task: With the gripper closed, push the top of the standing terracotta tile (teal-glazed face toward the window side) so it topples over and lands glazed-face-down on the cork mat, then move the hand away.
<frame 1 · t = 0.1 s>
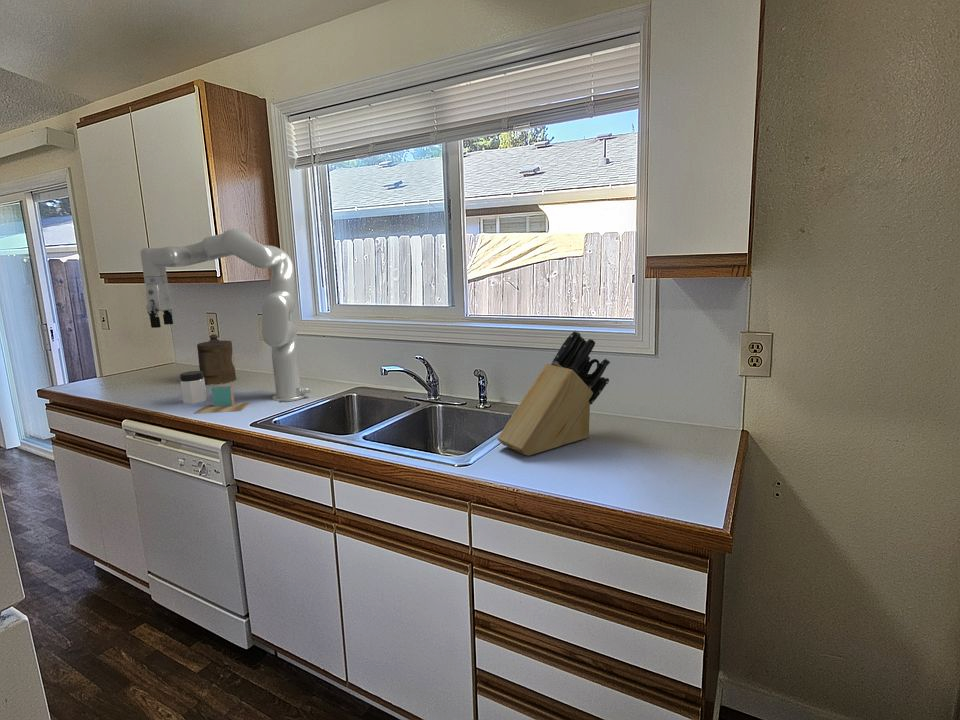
hand: (162, 325, 213), 31 cm above the counter, tool pointing down, fingers open, 9 cm apart
wooden container: (219, 381, 258), on the counter
mat: (223, 409, 208), on the counter
tile: (224, 405, 211), point 1 cm above the counter, touching mat
jar: (195, 402, 220), on the counter
knife block: (556, 440, 161), on the counter
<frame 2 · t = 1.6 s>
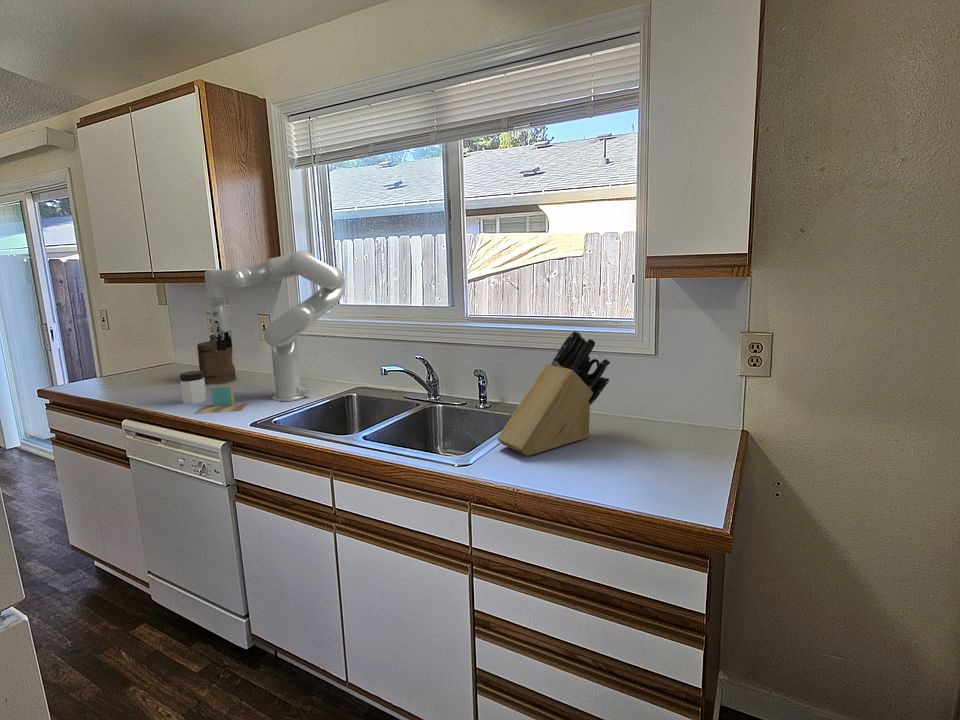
hand: (224, 348, 214), 21 cm above the counter, tool pointing down, fingers open, 5 cm apart
nothing on the counter moved.
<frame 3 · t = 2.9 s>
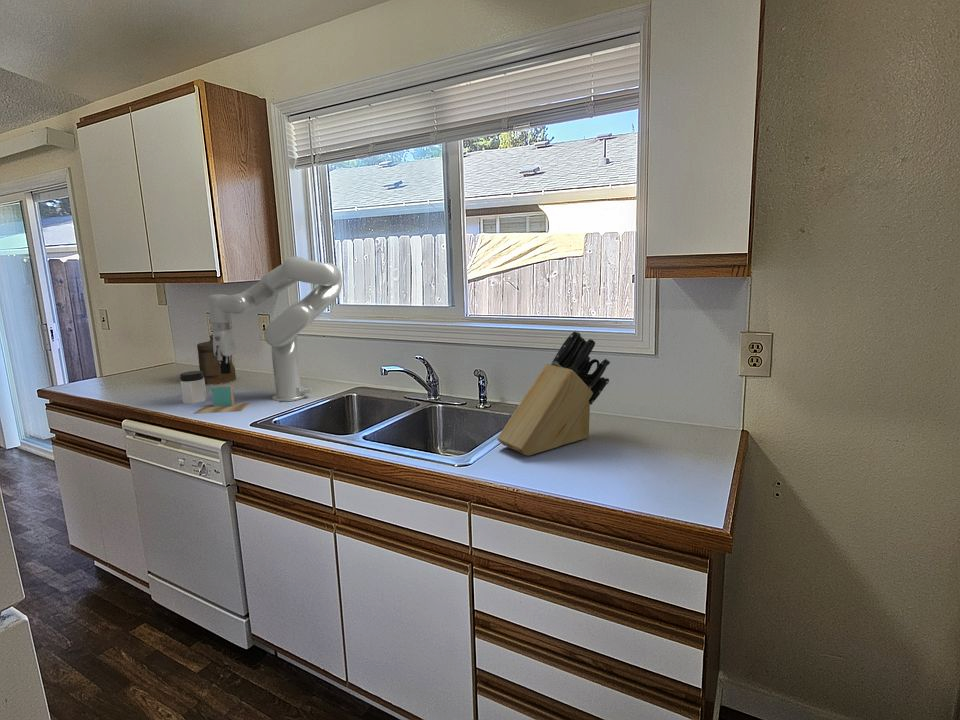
hand: (226, 373, 216), 12 cm above the counter, tool pointing down, fingers closed
nothing on the counter moved.
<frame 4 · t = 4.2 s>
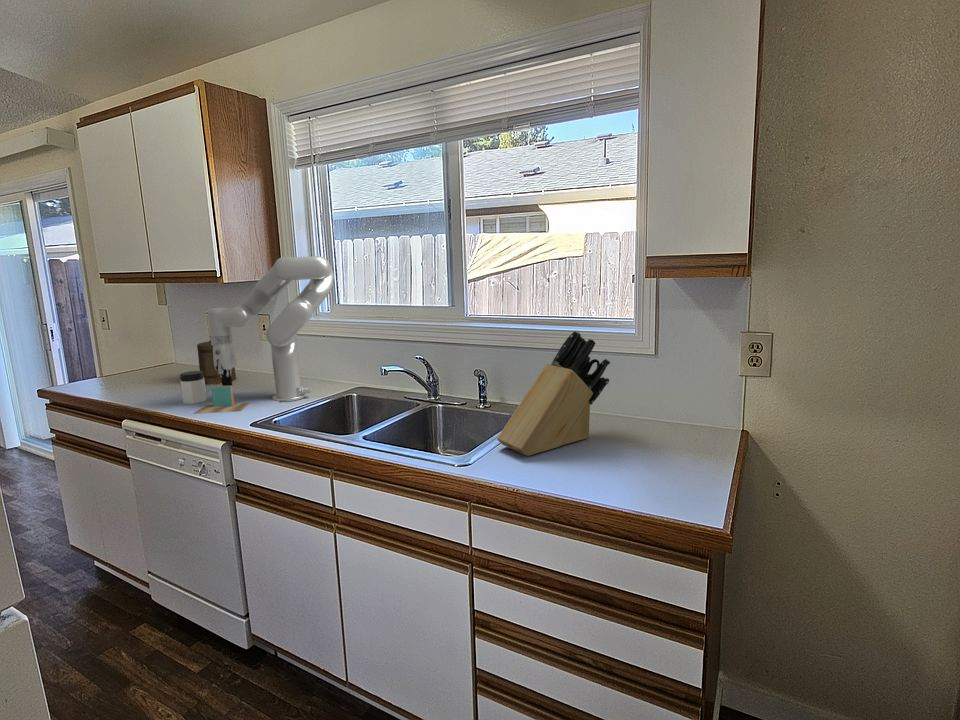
hand: (227, 386, 215), 7 cm above the counter, tool pointing down, fingers closed
nothing on the counter moved.
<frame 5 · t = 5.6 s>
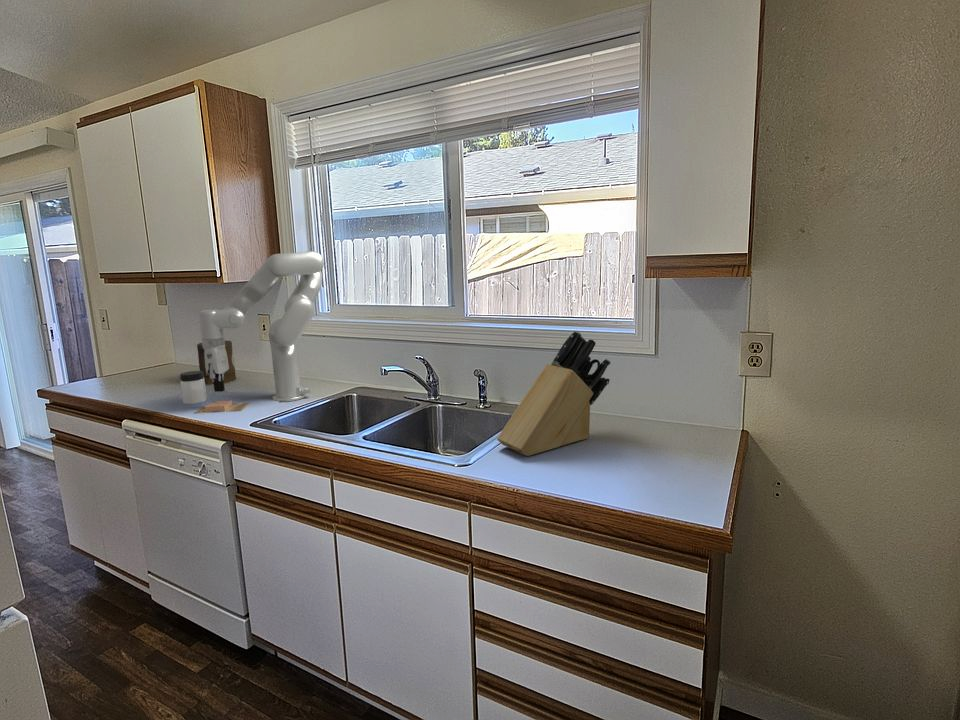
hand: (219, 391, 208), 7 cm above the counter, tool pointing down, fingers closed
tile: (222, 403, 210), point 2 cm above the counter, tilted 90°, touching mat
everything else where it was.
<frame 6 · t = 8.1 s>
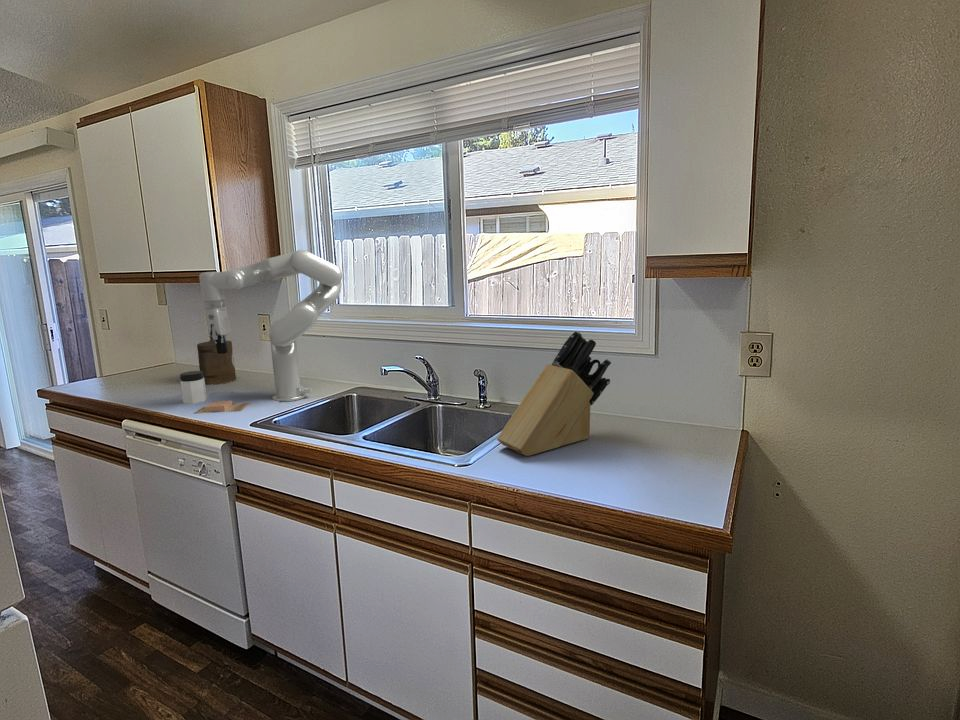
hand: (222, 353, 210), 20 cm above the counter, tool pointing down, fingers closed
nothing on the counter moved.
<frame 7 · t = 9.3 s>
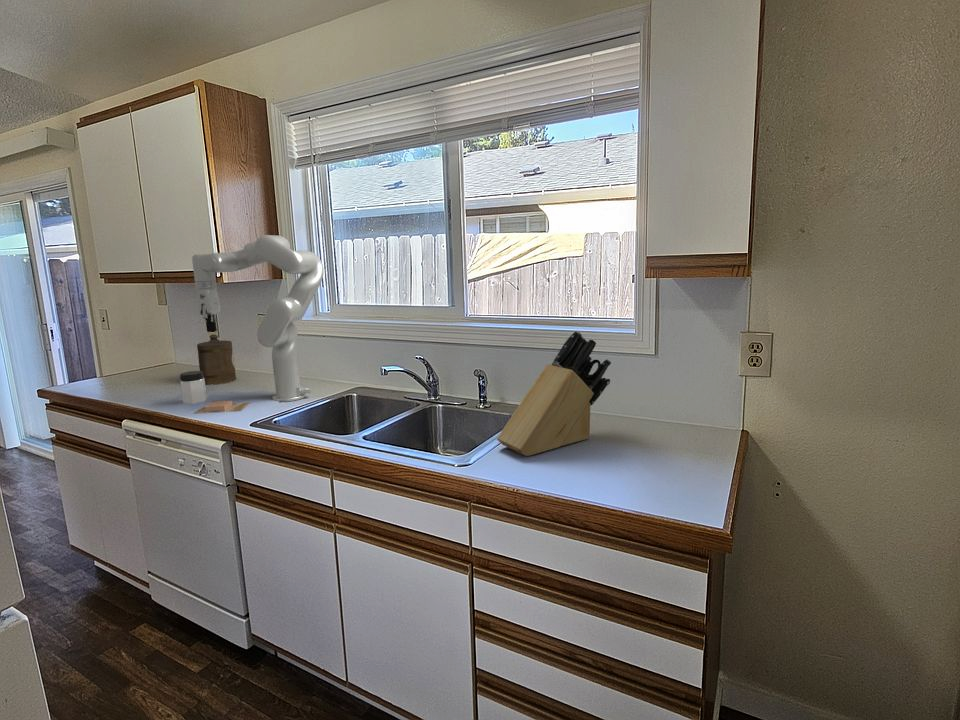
hand: (211, 331, 222), 27 cm above the counter, tool pointing down, fingers closed
nothing on the counter moved.
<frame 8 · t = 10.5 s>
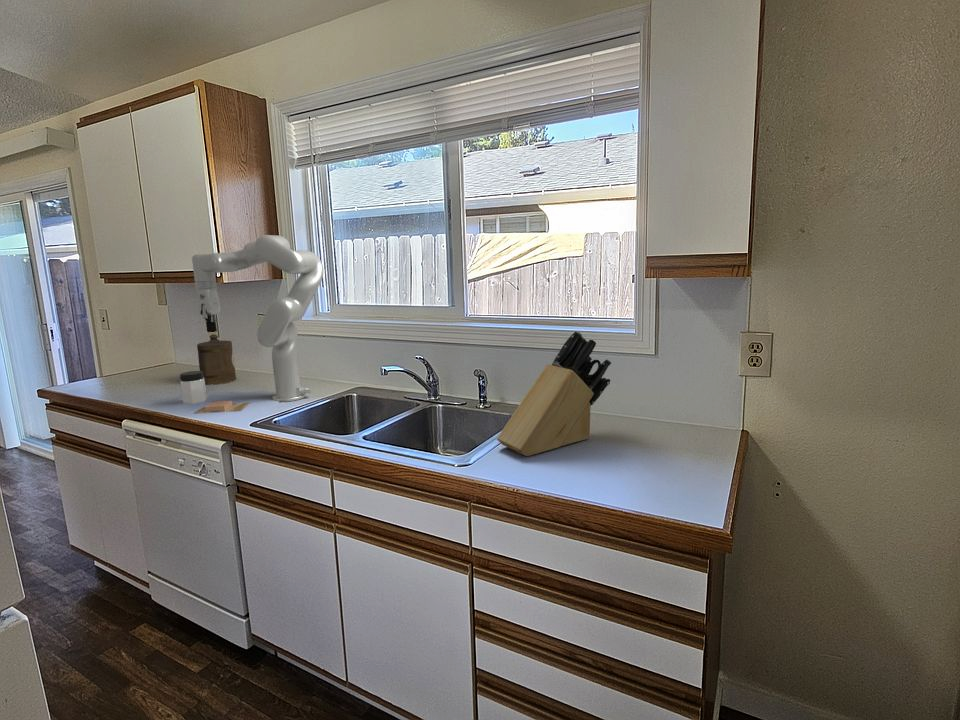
hand: (212, 331, 222), 27 cm above the counter, tool pointing down, fingers closed
nothing on the counter moved.
at the end: tile tilted 90°; tile inside the target area on the mat (2.9 cm from its centre), point 1.6 cm above the mat's base; the gripper is holding nothing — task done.
